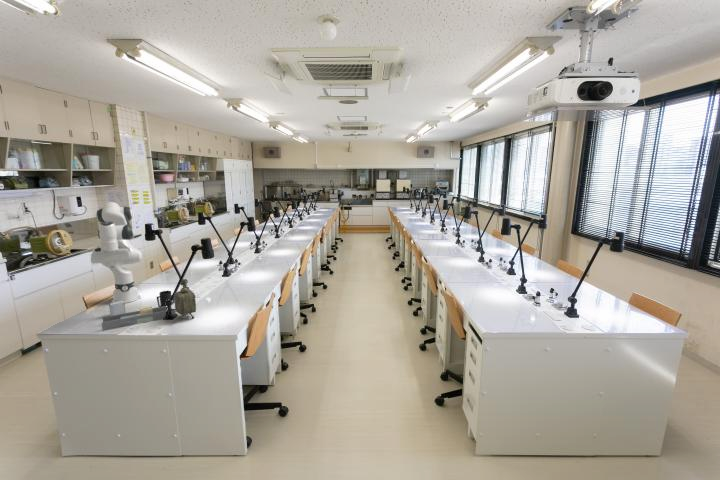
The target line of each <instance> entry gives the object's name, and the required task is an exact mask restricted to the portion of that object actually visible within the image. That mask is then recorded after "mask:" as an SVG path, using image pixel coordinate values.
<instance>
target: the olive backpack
mask: <svg viewBox="0 0 720 480" xmlns="http://www.w3.org/2000/svg"><path fill="white" fill-rule="evenodd" d="M181 284H182V288H180V289H179V290H180V291H177V292H174V294H175V295H174V294H173V299H174V300H173V301H174V309H175V311H176V312H177V313H178V314H179V315H182V316H181V319H184V318H185V315H190V316H191V319H194V318H195V316H194V315H193V313H196V312H197V303H196V295H195V292H194V291H193V290H191V289H189V288H188V287H187V285H186V284H187V283H186V282H185V281H184V280H182V282H181Z"/></svg>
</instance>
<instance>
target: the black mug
mask: <svg viewBox="0 0 720 480" xmlns="http://www.w3.org/2000/svg"><path fill="white" fill-rule="evenodd" d="M171 297H172V291H171V290H162V291H160V292H159V296H156V301H157V307H163V306H165V302H166V300H168V299H170V298H171Z"/></svg>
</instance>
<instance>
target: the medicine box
mask: <svg viewBox="0 0 720 480" xmlns="http://www.w3.org/2000/svg"><path fill="white" fill-rule="evenodd" d="M108 306H109V314H110V315H109V316H112V315H118V314H123V313H127V312H126V303H125V302H123V301H119V302H115V303H111V302H110V303H109V304H108Z"/></svg>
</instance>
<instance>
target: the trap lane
mask: <svg viewBox="0 0 720 480" xmlns="http://www.w3.org/2000/svg"><path fill="white" fill-rule="evenodd" d="M152 310H153V313H150V314H145V315H140V310H134V311H129V312H126V313H123V314H118V315H112V316H110V315H107V316H103V317H102V322H101V326H102V331H107V330H108V331H109V330H112V329H118V328H122V327H128V326H133V325H137V324H139V325H140V324H143V323H148V322H154V321H158V320H163V318H164V317H165V315H166V312H167V311H166V310H167V307H166V306H163V307H158V306H157V307H154V308H153V307H152ZM164 319H165V318H164Z"/></svg>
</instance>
